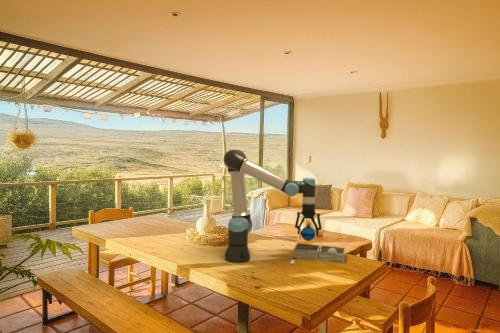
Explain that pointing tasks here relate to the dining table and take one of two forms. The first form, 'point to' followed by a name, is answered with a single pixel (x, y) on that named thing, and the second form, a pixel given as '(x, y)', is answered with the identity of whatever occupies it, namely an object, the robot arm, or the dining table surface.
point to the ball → (332, 250)
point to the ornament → (307, 233)
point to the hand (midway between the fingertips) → (307, 240)
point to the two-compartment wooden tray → (318, 253)
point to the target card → (293, 261)
